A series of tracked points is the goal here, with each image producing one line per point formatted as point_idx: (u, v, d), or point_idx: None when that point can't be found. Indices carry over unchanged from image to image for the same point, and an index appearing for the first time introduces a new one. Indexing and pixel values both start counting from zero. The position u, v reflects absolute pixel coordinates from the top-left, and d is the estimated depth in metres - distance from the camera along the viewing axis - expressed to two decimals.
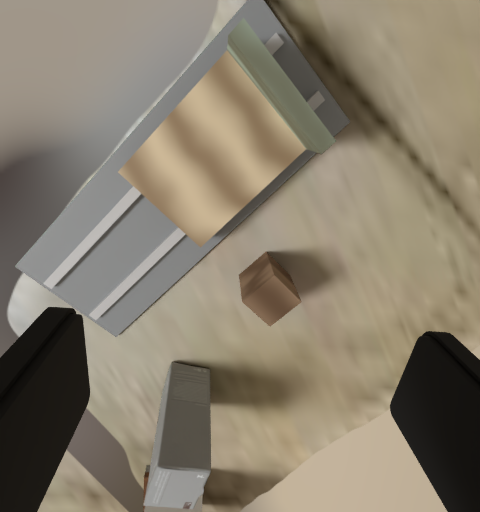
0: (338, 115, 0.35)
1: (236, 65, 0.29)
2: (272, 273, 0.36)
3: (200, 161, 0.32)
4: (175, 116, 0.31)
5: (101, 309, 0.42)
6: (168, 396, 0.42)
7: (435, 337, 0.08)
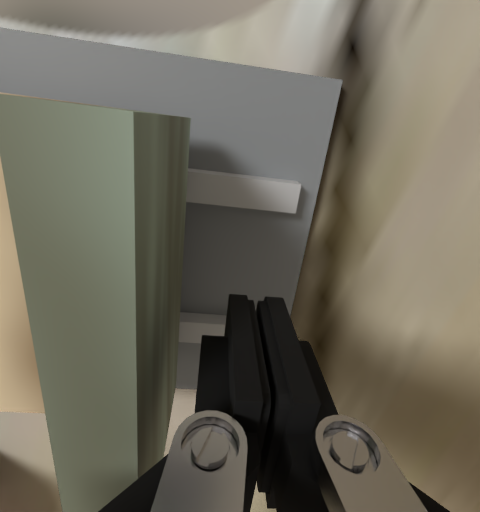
0: None
1: None
2: None
3: None
4: None
5: None
6: None
7: (266, 301, 0.09)
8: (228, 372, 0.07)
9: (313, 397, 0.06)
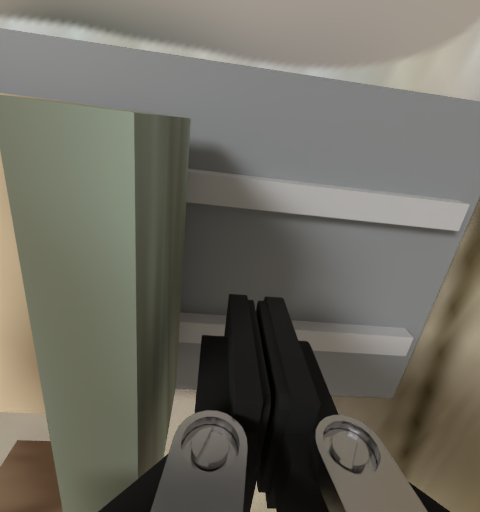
0: (390, 380, 0.18)
1: None
2: None
3: None
4: None
5: None
6: None
7: (266, 301, 0.09)
8: (228, 372, 0.07)
9: (313, 397, 0.06)
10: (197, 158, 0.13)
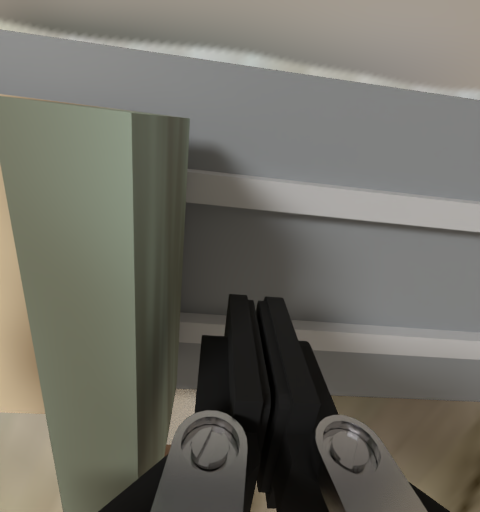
0: None
1: None
2: None
3: None
4: None
5: None
6: None
7: (266, 301, 0.09)
8: (228, 372, 0.07)
9: (313, 396, 0.06)
10: (348, 176, 0.13)
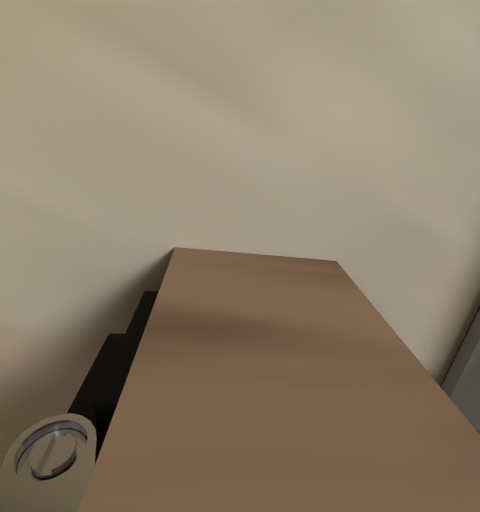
0: None
1: None
2: None
3: None
4: None
5: None
6: None
7: None
8: None
9: None
10: None
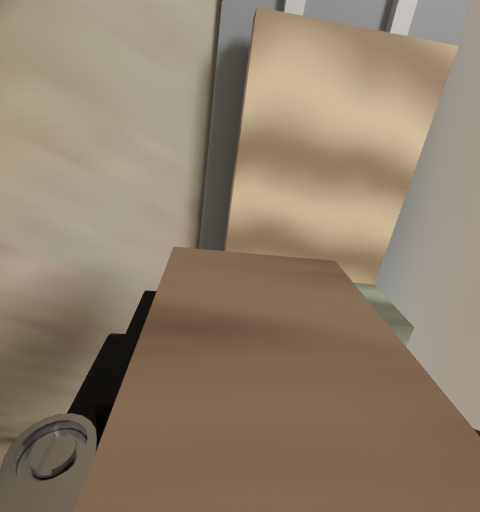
0: None
1: (356, 280, 0.24)
2: None
3: (341, 158, 0.20)
4: (401, 187, 0.21)
5: None
6: None
7: None
8: None
9: None
10: None
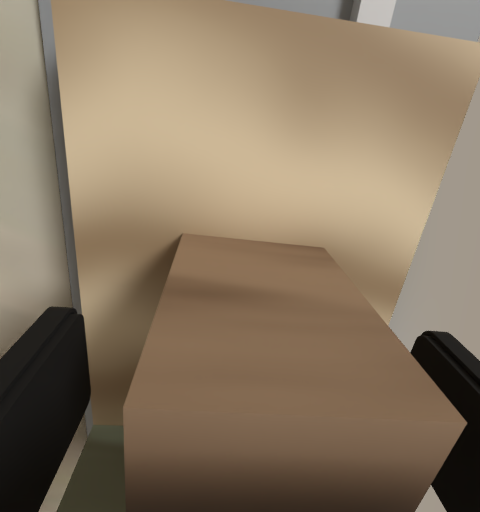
0: None
1: None
2: None
3: None
4: (385, 296, 0.12)
5: None
6: None
7: (434, 337, 0.08)
8: None
9: None
10: None
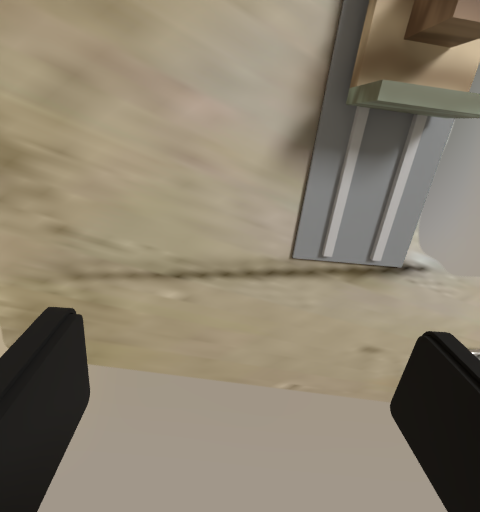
0: (303, 254, 0.43)
1: None
2: None
3: None
4: None
5: None
6: None
7: (435, 337, 0.08)
8: None
9: None
10: (407, 175, 0.39)
